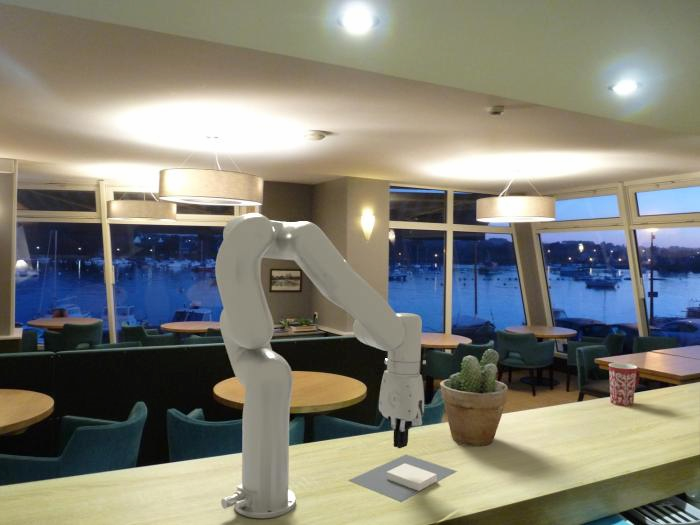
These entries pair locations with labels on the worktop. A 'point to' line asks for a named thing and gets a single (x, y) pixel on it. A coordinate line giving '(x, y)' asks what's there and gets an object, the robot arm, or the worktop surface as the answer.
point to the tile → (411, 476)
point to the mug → (623, 383)
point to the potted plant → (474, 400)
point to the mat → (391, 489)
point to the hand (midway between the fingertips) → (400, 446)
